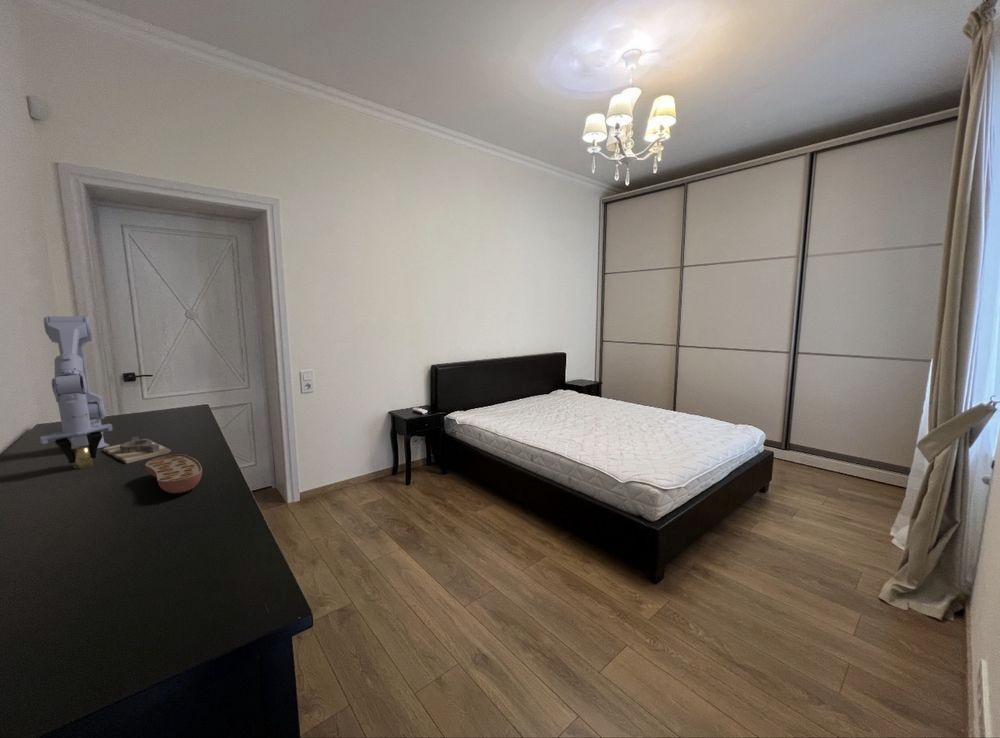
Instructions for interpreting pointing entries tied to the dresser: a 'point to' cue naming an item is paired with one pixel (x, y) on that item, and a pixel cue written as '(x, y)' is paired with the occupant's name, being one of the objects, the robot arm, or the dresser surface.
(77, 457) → the cylinder
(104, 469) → the dresser surface
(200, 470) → the anatomical model
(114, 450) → the coupling plate
